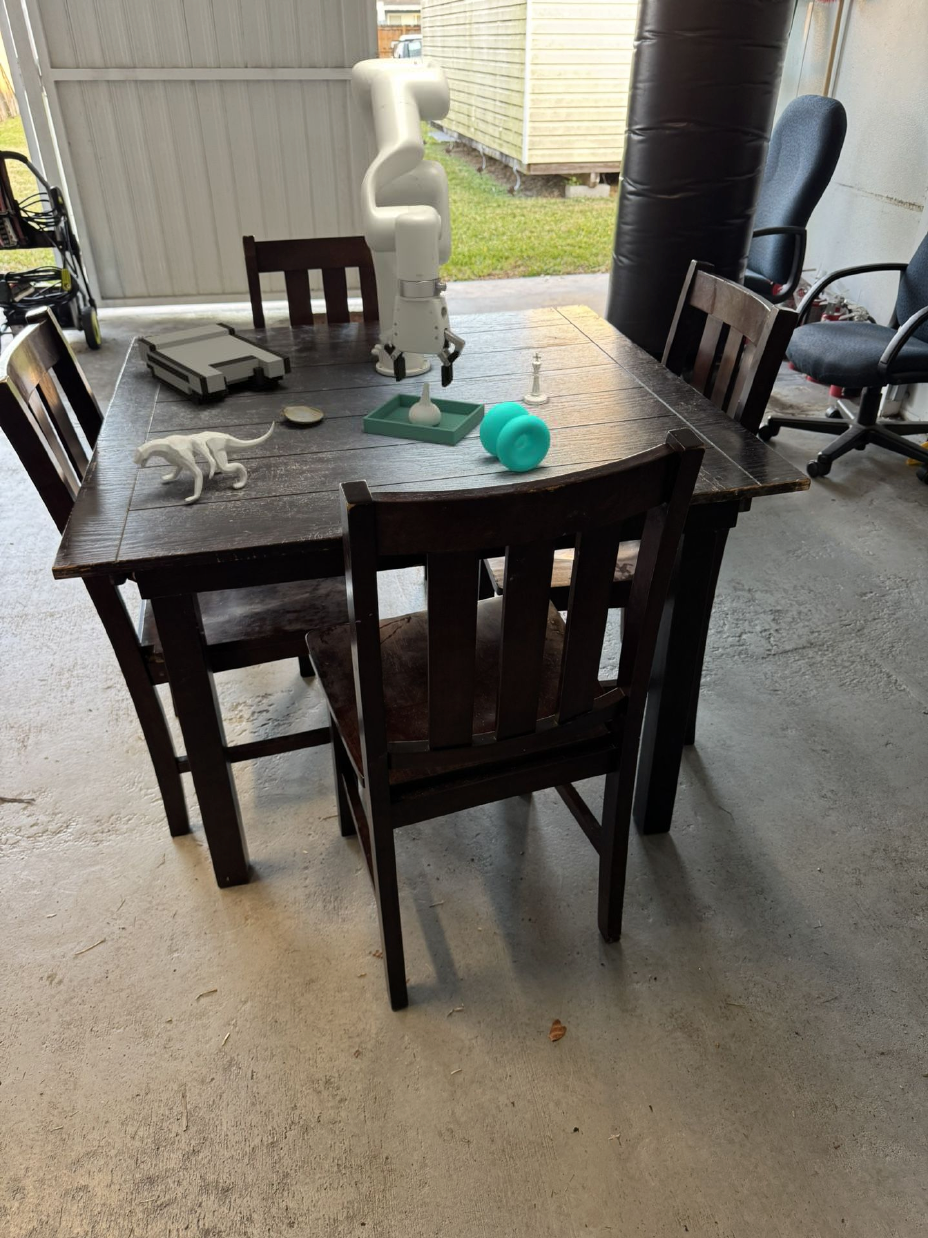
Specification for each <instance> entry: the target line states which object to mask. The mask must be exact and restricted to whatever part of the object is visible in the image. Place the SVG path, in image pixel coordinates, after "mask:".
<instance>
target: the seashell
mask: <svg viewBox="0 0 928 1238" xmlns="http://www.w3.org/2000/svg"><path fill="white" fill-rule="evenodd" d="M279 415H280V416H283V417H284V416H285V418H286V419H287V420H288V421H290V422H292V423H294V424H299V425H309V424H313V423H316V422H319V421H321V420H322V419H323V418H324V412H323V411H321V410H320V409H318V408H316V407H312V406H306V405H300V406H286V407H285V408H284V409H283V410H281V411H280V412H279Z"/></svg>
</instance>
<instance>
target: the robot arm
mask: <svg viewBox="0 0 928 1238" xmlns="http://www.w3.org/2000/svg"><path fill="white" fill-rule="evenodd" d="M350 87H351V94H352V98H353V102H354V105H355V109H356V111H357V114H358V117H359V119H360V121H361V124H362V127H363V129H364V132H365V135H366V140H367V146H368V147H367V150H368V159H369V160H368V161H369V167H368V168H367V170H366V172H365V174H364V177H363V180H362V183H361V187H360V194H359V203H360V210H361V212H360V213H361V221H362V222H361V223H362V231H363V235H364V236H363V237H364V241H365V243H366V245H367V247H368V248H369V249H370V255H371V259H372V263H373V269H374V274H375V275H374V276H375V282H376V292H377V294H376V295H377V305H378V319H379V321H378V322H379V334H378V339H379V341H380V344H379V343H376V344H375V346H374V348H372V349H371V355H372V356H375V357H378V361H377V363H376V364H375V370H376V371H377V373H378V374H381V375H384V376H387V377H393V378H394V377H395V382H396V383H400V382H401V381H403V380H405V379H406V378H407V377H414V376H419V375H422V374H425V373H427V372H428V371H429V370H430V369H431V361H430V360H428V359H427V358H425V357H424V355H429V356H430V355H431V356H437V357H438V359H439V360H440V362H441V363H442V365H440V380H441V387H442V388H447V387H448V386H450V385H451V384H452V382H453V380H454V363H455V362H456V360H457V359H458V358H459V357H460V356H461V354H462V352H463V350H464V348H465V346H466V341H465V340H464V339H463V338H461V337H460V336H458V335H457V334H455V333H453V332H452V331H451V322H450V316H449V309H448V304H447V300H446V296H445V295H444V294H441V293H442V292H446V291H447V289H448V288H447V285H448V284H447V283H446V282H442V279H441V277H440V266H443V265H446V264H447V263H448V262H449V261H450V259H451V255H452V228H451V211H450V209H451V208H450V192H449V183H448V177H447V173H446V169H445V167H444V166H443V164H442V163H440V162H439V161H437V160H432V159H424V158H425V144H424V138H423V137H424V136H423V131H422V123H421V122H434V121H436V122H437V121H444V120H445V119H446V118H447V116H448V114H449V112H450V107H451V90H450V85H449V81H448V77H447V76H446V73H445V71H444V69H443V68H442V66H441V65H440V64H439V62H438V61H437V60H435V58H431V57H402V58H397V57H387V58H385V57H384V58H381V57H380V58H371V59H365V60H362V61H359V62H357V63H356V64H354V65H353V67H352V69H351V71H350ZM452 344H453V345H454V348H453V351H452V352H451V350H450V348H451V347H452V346H451V345H452Z"/></svg>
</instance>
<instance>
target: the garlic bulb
mask: <svg viewBox="0 0 928 1238" xmlns="http://www.w3.org/2000/svg"><path fill="white" fill-rule="evenodd" d="M430 393H431V392H430V383H429V382H424V383H423V386H422V391H421V395H420V396H421V399H420V401H419V402H418V403H416V404H414V405H413V406H412V407H411V409H410V411H409V419H410V421H411V422H412V423H413V424H414V425H421V426H428V427H431V426H435V425H437V424H438V423H439V422H440V419H441V413H440V410H439V409H438V407H437V406H436V405H434V404H433V403H431V400H430V397H431V394H430Z"/></svg>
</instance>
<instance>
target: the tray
mask: <svg viewBox="0 0 928 1238" xmlns="http://www.w3.org/2000/svg"><path fill="white" fill-rule="evenodd" d="M420 399H421V395H416V394H415V395H414V394H409V393H408V394H407V393H400V392H398V393H397V394H395V395H394V396H392V397H391V398H390V399H387V400H386V401H385V402H384V403H382V404H381V405H380V406H378V407H377V408H375V409H373V410H372V411H371V412H369V413H368V414H366V415H365V416H364V417H362V424H363V425H362V426H363V433H369V434H374V435H382V436H389V437H394V438H400V439H401V438H402V439H408V440H414V441H421V442H428V443H433V444H442V445H448V446H456V445H457V444H458V443H459V442H460V441H461V440H462V439H463V438H465V436H467V435H468V434H469V433H470V432H471V431H473V429H475V427H477V426H478V425H479V424H481V422H482V420H483V418H484V416H485V415H486V413H485V410H486V409H485V405H486V404H484V403H476V402H468V401H461V400H453V399H445V398H439V397H438V398H437V397H431V396H430V400H431V403H433V404H434V405H436V406H437V407H438V409H439V410H440V413H441V419H440V422H439V423H438V424H437V425H435V426H431V427H428V426H421V425H414V424H413V423H412V422H411V421H410V419H409V411H410V409H411V407H412V406H413V405H414V404H416V403H418V402H419V401H420Z"/></svg>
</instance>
